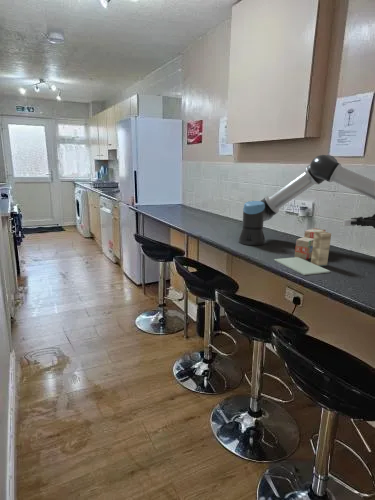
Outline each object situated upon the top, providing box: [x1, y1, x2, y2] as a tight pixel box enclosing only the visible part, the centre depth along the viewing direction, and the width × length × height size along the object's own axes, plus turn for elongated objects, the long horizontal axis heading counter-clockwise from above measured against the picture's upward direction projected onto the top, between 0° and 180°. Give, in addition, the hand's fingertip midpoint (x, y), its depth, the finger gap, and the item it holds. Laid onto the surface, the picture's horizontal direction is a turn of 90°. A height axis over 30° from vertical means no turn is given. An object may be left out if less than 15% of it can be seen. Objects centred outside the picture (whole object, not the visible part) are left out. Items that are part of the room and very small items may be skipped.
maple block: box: [310, 231, 332, 267], centre depth 149 cm, size 5×5×15 cm
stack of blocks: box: [294, 227, 327, 261], centre depth 166 cm, size 21×6×12 cm, turn 138°
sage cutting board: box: [273, 257, 331, 276], centre depth 148 cm, size 22×14×1 cm, turn 19°
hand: (343, 222), depth 150 cm, fingers closed
